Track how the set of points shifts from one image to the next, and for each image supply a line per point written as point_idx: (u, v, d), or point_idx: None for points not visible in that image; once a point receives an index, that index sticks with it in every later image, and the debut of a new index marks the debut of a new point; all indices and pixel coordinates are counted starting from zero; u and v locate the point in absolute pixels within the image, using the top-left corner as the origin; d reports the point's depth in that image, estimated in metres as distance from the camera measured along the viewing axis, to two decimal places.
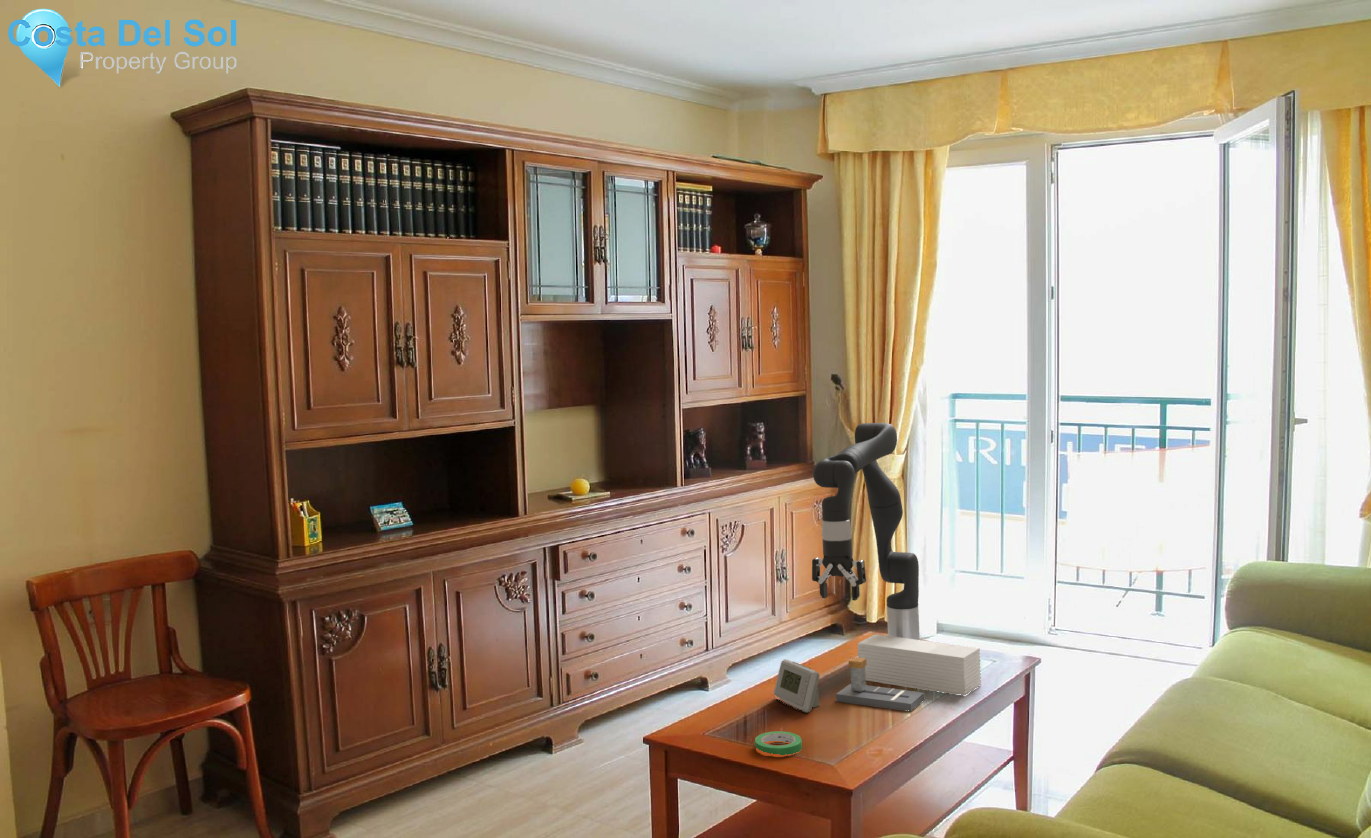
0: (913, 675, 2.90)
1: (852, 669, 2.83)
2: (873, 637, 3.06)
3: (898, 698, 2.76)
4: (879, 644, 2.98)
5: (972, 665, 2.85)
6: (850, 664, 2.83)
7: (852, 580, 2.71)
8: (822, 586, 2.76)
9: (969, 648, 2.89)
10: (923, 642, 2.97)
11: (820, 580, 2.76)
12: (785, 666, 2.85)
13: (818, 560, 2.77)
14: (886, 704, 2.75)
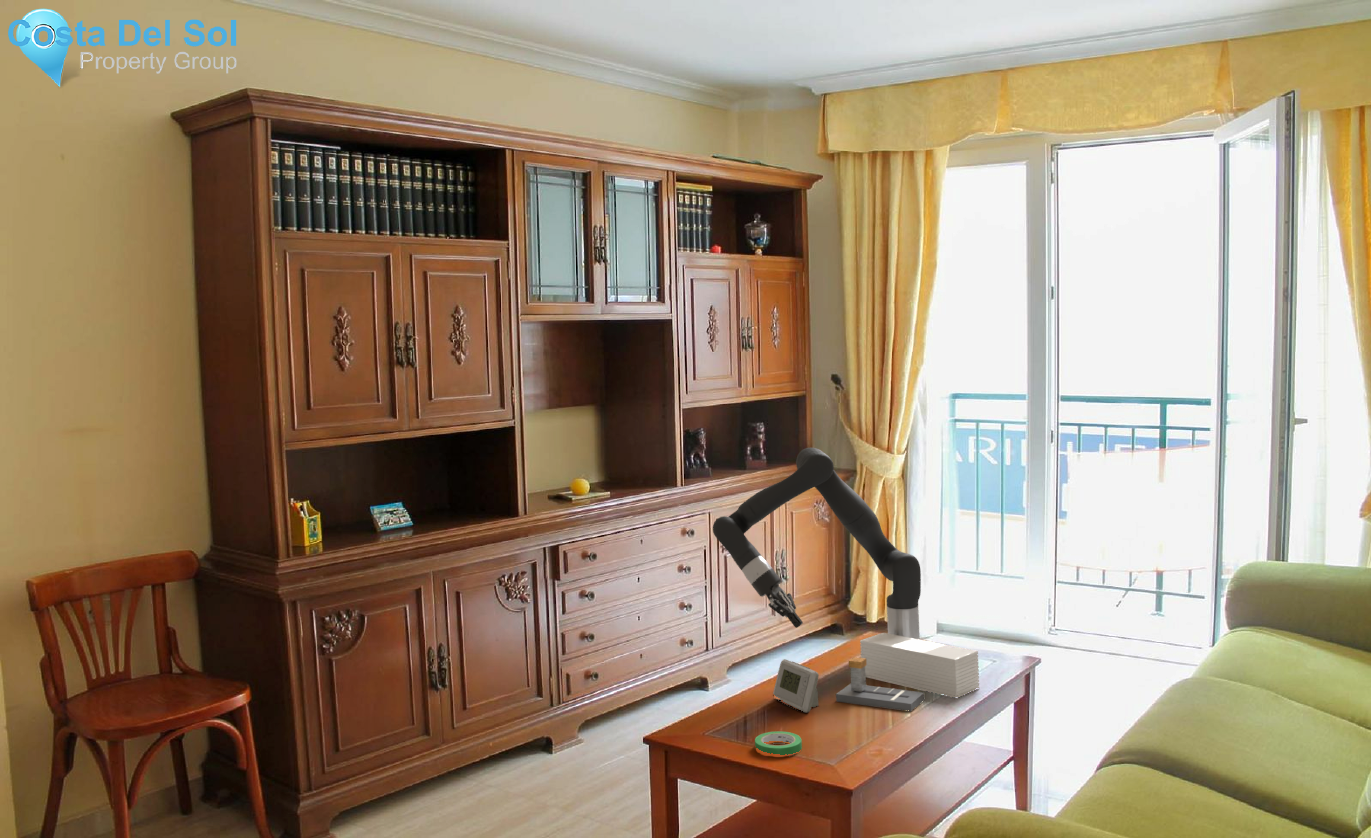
0: (910, 675, 2.91)
1: (852, 669, 2.83)
2: (879, 635, 3.07)
3: (898, 698, 2.76)
4: (881, 642, 3.00)
5: (967, 667, 2.83)
6: (850, 664, 2.83)
7: None
8: None
9: (967, 650, 2.87)
10: (925, 642, 2.97)
11: None
12: (785, 666, 2.86)
13: None
14: (886, 704, 2.75)
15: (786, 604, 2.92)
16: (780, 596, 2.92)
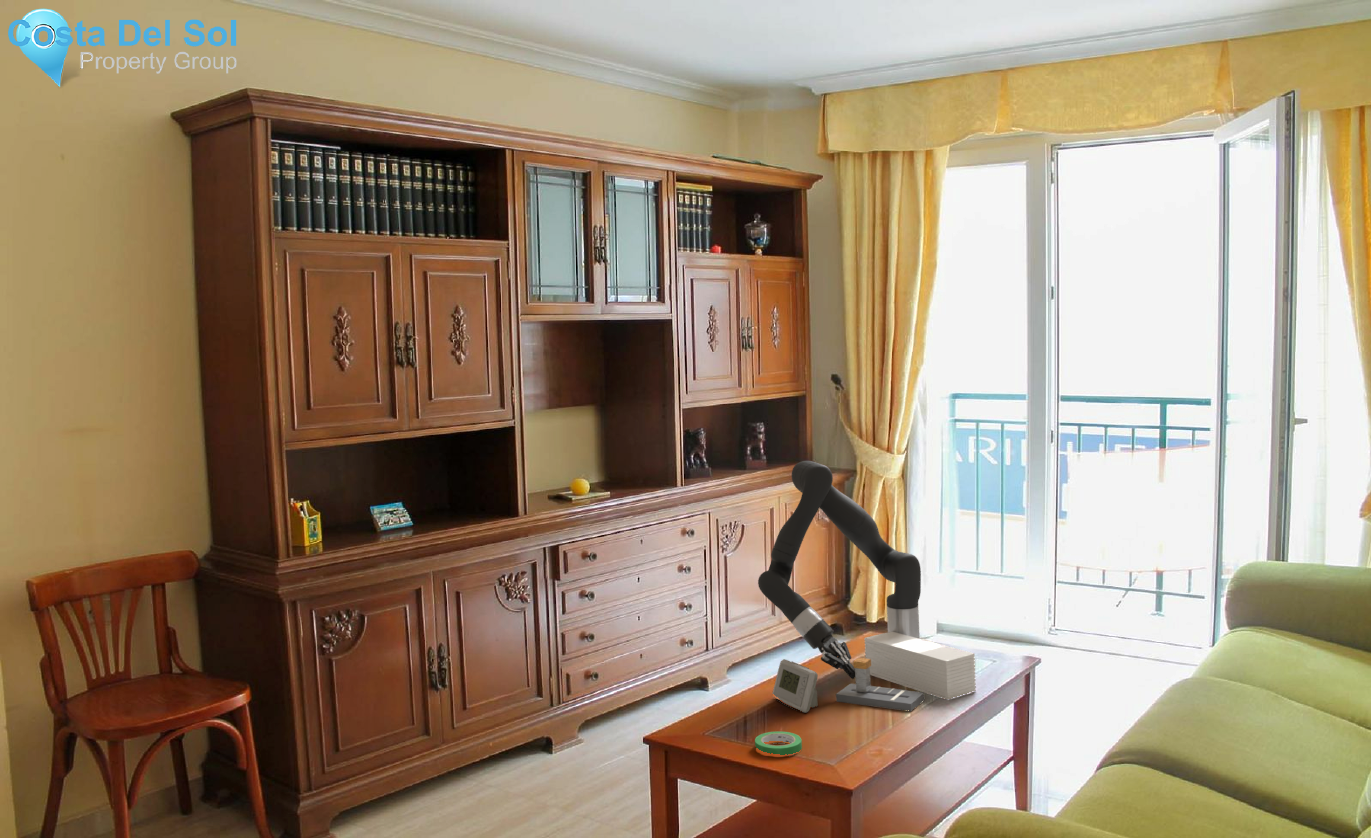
0: (907, 674, 2.92)
1: (857, 670, 2.83)
2: (885, 634, 3.08)
3: (898, 698, 2.76)
4: (883, 640, 3.01)
5: (961, 670, 2.82)
6: (855, 665, 2.83)
7: None
8: None
9: (963, 652, 2.85)
10: (926, 643, 2.97)
11: None
12: (784, 666, 2.86)
13: None
14: (886, 704, 2.75)
15: (839, 656, 2.85)
16: (832, 648, 2.86)
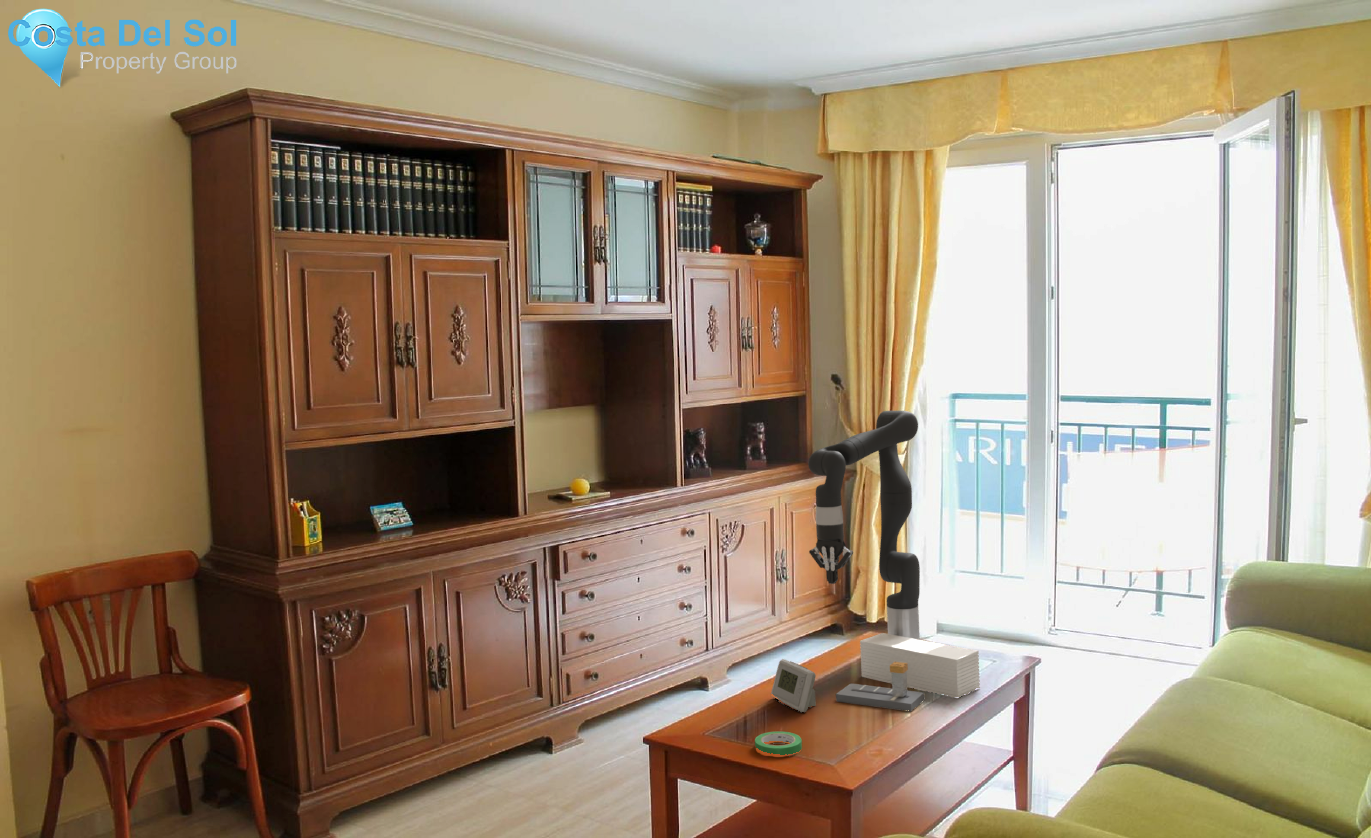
0: (910, 675, 2.91)
1: (893, 674, 2.77)
2: (878, 636, 3.07)
3: (898, 698, 2.76)
4: (881, 642, 3.00)
5: (968, 667, 2.83)
6: (891, 669, 2.77)
7: (833, 565, 2.93)
8: (829, 572, 2.94)
9: (967, 650, 2.87)
10: (925, 642, 2.97)
11: (827, 567, 2.94)
12: (783, 665, 2.86)
13: (814, 549, 2.97)
14: (886, 704, 2.75)
15: (838, 559, 2.95)
16: None
